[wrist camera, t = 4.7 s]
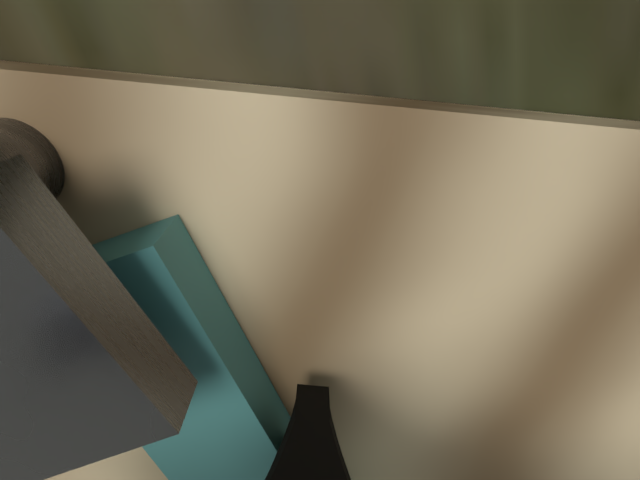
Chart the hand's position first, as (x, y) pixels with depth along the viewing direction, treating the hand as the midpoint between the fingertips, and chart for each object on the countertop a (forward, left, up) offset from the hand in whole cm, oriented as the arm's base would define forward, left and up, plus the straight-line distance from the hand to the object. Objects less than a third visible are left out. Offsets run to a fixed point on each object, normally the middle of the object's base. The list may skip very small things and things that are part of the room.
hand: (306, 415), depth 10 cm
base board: (0, 0, -2) cm, 2 cm away
